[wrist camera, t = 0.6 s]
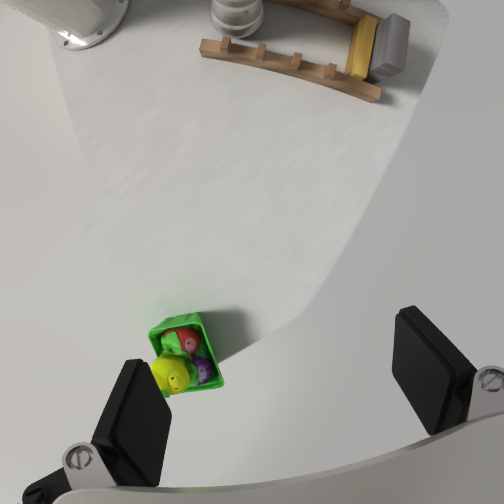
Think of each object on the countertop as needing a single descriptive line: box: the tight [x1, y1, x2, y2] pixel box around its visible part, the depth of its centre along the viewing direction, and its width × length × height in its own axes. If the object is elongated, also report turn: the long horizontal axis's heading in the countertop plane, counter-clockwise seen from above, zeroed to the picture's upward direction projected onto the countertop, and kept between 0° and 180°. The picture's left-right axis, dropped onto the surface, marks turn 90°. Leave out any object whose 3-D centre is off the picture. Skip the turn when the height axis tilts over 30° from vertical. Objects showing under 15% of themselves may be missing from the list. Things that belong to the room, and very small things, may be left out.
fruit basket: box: [148, 312, 224, 398], centre depth 38 cm, size 11×9×11 cm
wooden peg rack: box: [199, 0, 410, 103], centre depth 27 cm, size 22×12×9 cm, turn 76°
